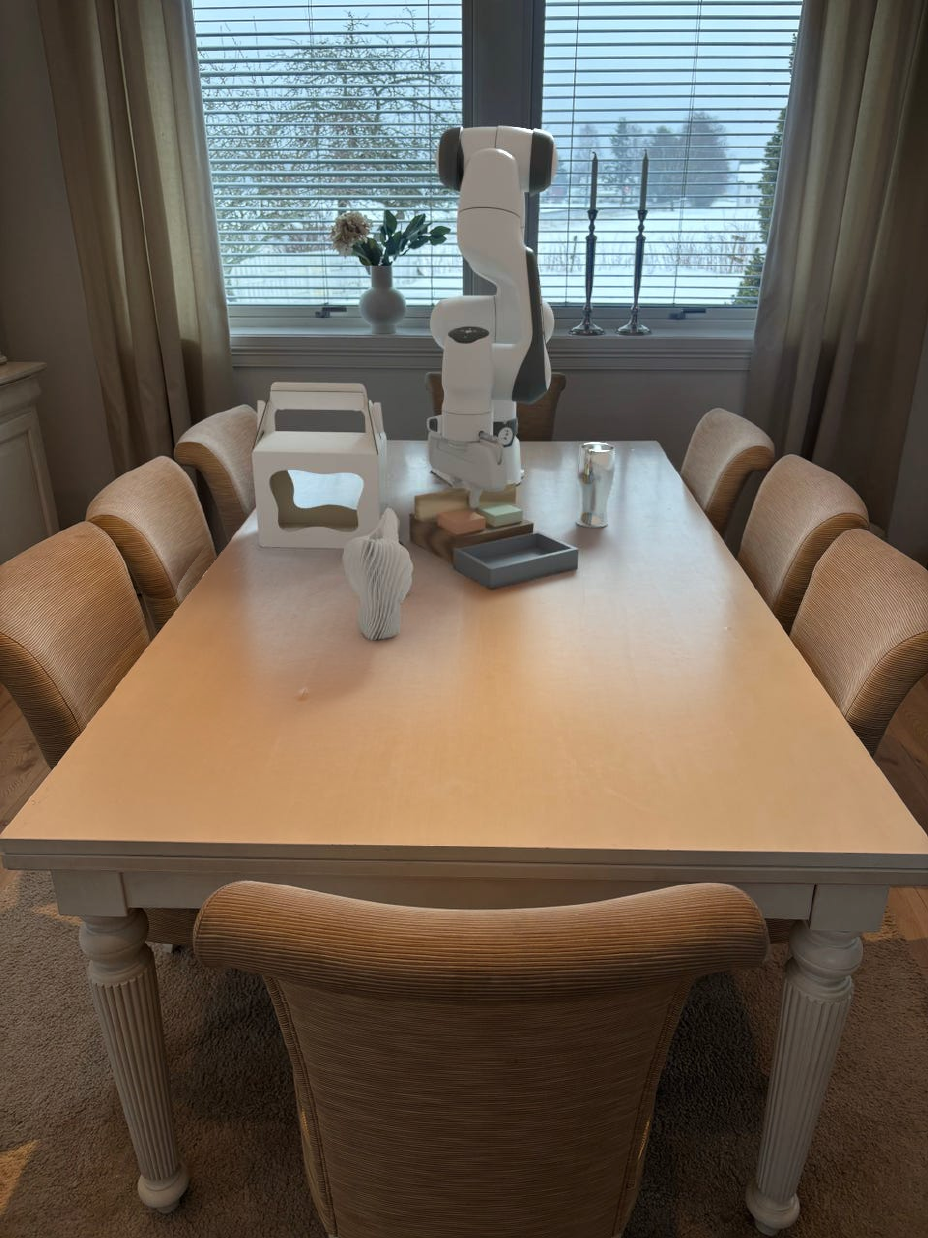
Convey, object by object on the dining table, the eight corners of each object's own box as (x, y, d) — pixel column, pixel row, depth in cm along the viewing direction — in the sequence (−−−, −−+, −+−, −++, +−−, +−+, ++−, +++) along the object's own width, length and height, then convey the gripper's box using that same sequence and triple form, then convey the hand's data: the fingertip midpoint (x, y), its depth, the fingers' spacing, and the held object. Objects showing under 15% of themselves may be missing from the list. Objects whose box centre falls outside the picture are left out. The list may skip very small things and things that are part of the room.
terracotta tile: (437, 525, 162) (437, 514, 162) (466, 519, 165) (466, 508, 165) (456, 534, 158) (456, 523, 157) (485, 528, 161) (485, 517, 160)
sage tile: (475, 517, 166) (475, 506, 166) (502, 512, 170) (503, 501, 169) (494, 526, 162) (494, 515, 161) (522, 521, 165) (522, 510, 164)
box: (453, 568, 157) (453, 549, 156) (538, 549, 166) (538, 530, 165) (490, 589, 149) (491, 569, 147) (577, 568, 158) (578, 548, 156)
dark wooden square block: (409, 540, 170) (409, 513, 168) (481, 525, 178) (482, 500, 176) (457, 566, 158) (457, 539, 156) (532, 549, 166) (533, 523, 164)
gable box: (258, 547, 166) (244, 388, 154) (273, 524, 178) (262, 375, 166) (382, 550, 165) (377, 390, 154) (389, 526, 177) (386, 376, 166)
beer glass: (609, 518, 183) (615, 442, 177) (610, 529, 177) (616, 451, 171) (573, 516, 184) (578, 441, 177) (574, 528, 177) (578, 450, 171)
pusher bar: (414, 517, 162) (414, 495, 161) (507, 500, 172) (508, 479, 171) (421, 521, 160) (421, 499, 159) (515, 503, 170) (516, 482, 169)
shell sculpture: (365, 652, 128) (360, 528, 120) (343, 629, 134) (338, 510, 127) (419, 641, 131) (418, 519, 124) (396, 619, 138) (393, 502, 131)
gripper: (517, 436, 154) (515, 516, 160) (451, 414, 169) (451, 487, 175) (486, 440, 151) (484, 522, 156) (421, 417, 166) (422, 492, 172)
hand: (466, 503), depth 166 cm, fingers closed on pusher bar, 2 cm apart
